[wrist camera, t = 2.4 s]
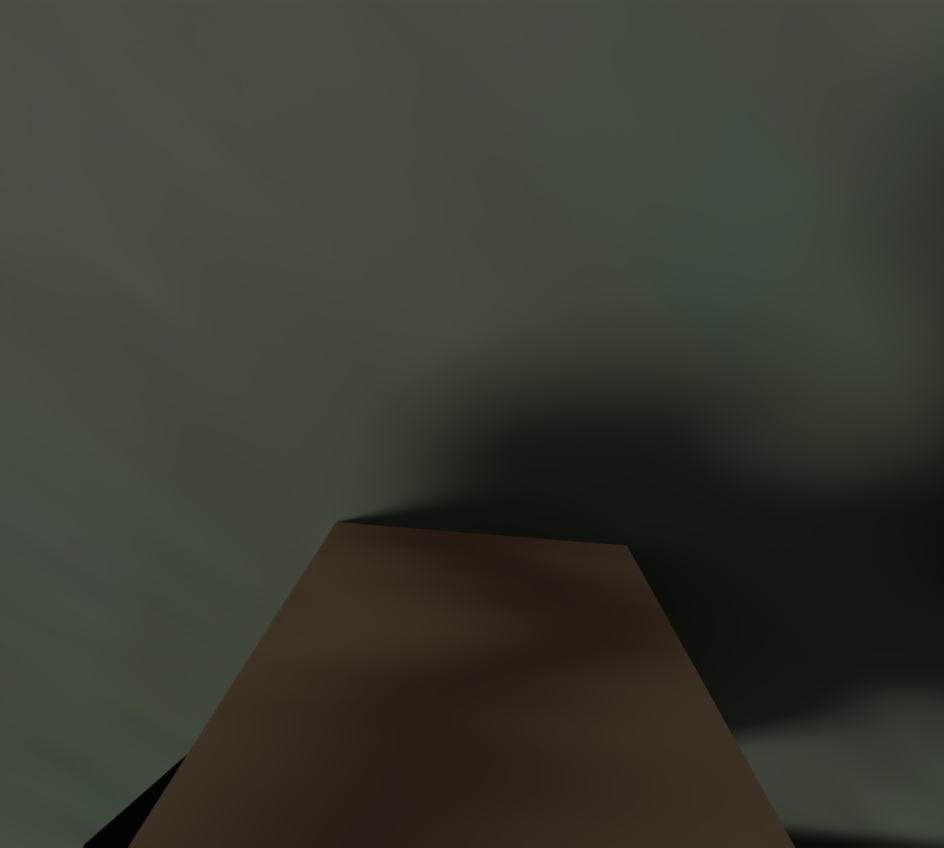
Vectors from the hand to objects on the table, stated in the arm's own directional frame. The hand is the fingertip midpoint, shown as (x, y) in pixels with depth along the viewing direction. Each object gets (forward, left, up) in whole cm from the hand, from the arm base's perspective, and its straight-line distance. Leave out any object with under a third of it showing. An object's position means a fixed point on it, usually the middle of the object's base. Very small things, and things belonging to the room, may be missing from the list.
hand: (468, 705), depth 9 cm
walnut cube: (0, 0, -1) cm, 1 cm away
